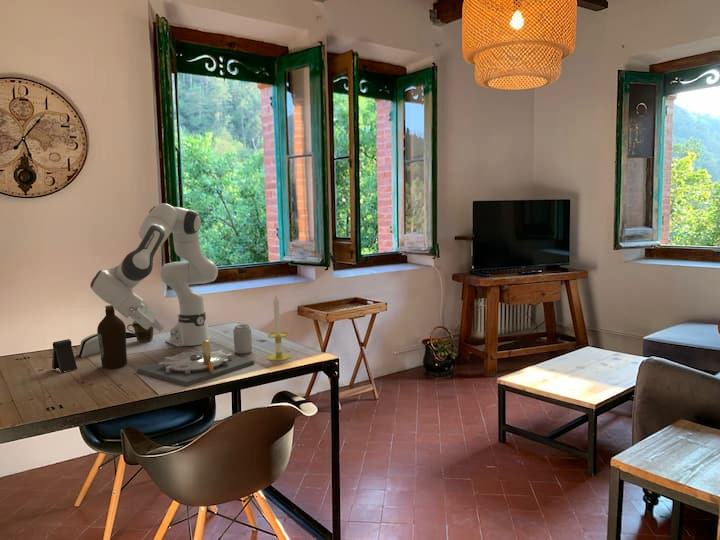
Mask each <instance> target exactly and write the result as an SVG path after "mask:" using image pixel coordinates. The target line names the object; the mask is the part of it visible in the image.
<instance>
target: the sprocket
mask: <svg viewBox="0 0 720 540" xmlns="http://www.w3.org/2000/svg"><path fill="white" fill-rule="evenodd" d="M210 342H211V340H210V341H209V340H203V341H202V344H201V350H197V351H190V352H186V351H183V352H180V354H175V355H173V356H166V357H163V359H164V360H163V361H164V362H162V361H160V362H161V363H159V362H158V363H159V368H160V369H163V368H165V369H166V373H172V372H178V373H185V374H191V372H200V371H206V370H207V371H209V362H213V370H214V368H218V367H220V366H222V365H224V366H227V365H229V360H232V356H233V355H232V353H227V354H226V353H225V352H224V350H223V349H222V350H221V349H219V350H216V351H215V350H211V343H210Z"/></svg>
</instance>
